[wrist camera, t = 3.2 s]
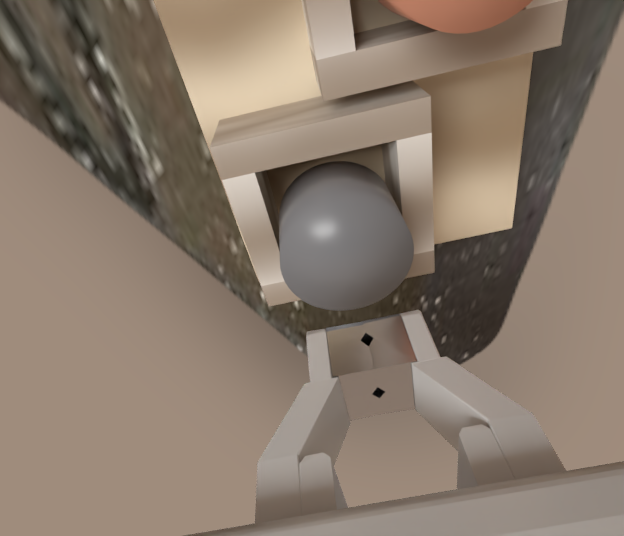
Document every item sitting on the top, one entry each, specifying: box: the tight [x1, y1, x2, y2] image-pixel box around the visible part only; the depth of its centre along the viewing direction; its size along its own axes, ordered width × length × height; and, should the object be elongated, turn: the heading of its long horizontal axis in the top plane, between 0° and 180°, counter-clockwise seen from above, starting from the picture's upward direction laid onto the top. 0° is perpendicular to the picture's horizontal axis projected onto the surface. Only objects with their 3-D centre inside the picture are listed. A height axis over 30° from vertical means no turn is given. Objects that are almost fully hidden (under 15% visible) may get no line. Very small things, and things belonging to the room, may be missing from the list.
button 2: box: [279, 161, 414, 311], centre depth 14 cm, size 4×4×3 cm
